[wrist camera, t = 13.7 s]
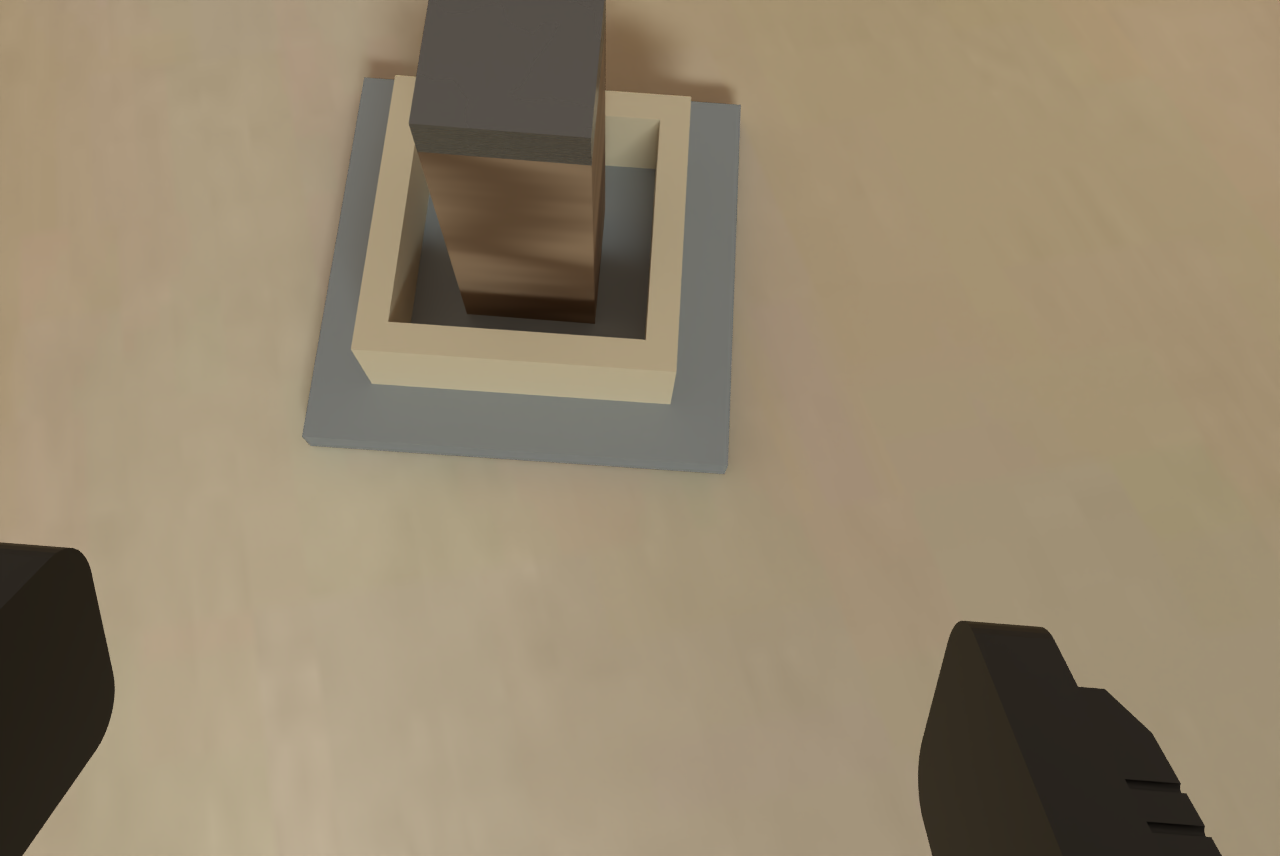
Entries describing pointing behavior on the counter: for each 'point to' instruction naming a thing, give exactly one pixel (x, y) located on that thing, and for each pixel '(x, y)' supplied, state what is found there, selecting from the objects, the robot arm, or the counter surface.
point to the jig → (530, 348)
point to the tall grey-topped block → (516, 150)
